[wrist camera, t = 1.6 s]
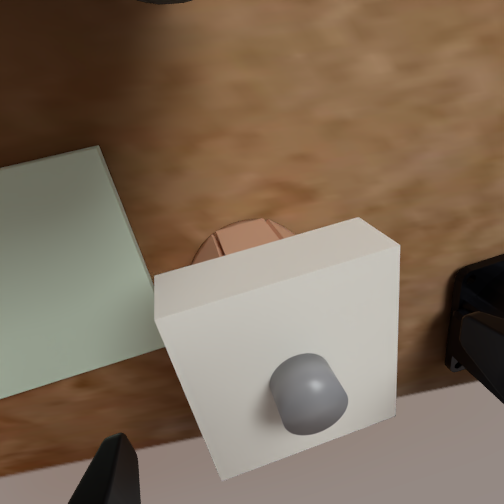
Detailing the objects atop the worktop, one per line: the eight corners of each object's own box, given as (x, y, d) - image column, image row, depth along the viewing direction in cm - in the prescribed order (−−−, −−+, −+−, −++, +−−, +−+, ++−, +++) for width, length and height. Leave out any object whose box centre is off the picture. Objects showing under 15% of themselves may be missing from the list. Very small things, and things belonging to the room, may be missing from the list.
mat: (98, 144, 10) (96, 147, 10) (173, 335, 14) (174, 343, 13) (-168, 207, 9) (-184, 213, 9) (-13, 393, 13) (-19, 405, 12)
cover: (358, 217, 9) (431, 266, 7) (364, 372, 12) (417, 446, 10) (154, 275, 8) (153, 354, 6) (212, 426, 11) (228, 520, 9)
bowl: (298, 204, 12) (344, 244, 9) (311, 304, 15) (351, 362, 12) (173, 238, 12) (180, 293, 9) (206, 337, 14) (220, 408, 11)
